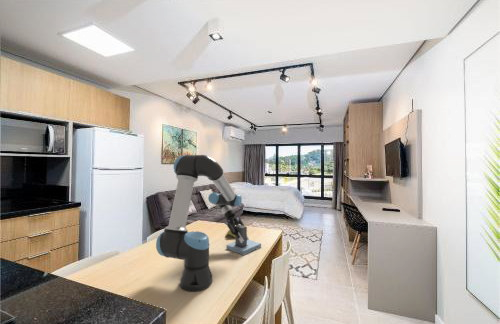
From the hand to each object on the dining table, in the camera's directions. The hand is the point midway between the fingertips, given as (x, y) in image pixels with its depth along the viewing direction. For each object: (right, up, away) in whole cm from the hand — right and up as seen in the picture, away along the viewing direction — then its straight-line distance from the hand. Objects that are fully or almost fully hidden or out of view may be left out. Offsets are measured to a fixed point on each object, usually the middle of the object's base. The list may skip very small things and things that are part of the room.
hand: (245, 240), depth 146 cm
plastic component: (-8, -7, +34) cm, 35 cm away
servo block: (-3, -4, +3) cm, 6 cm away
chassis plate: (-1, -6, +5) cm, 8 cm away
